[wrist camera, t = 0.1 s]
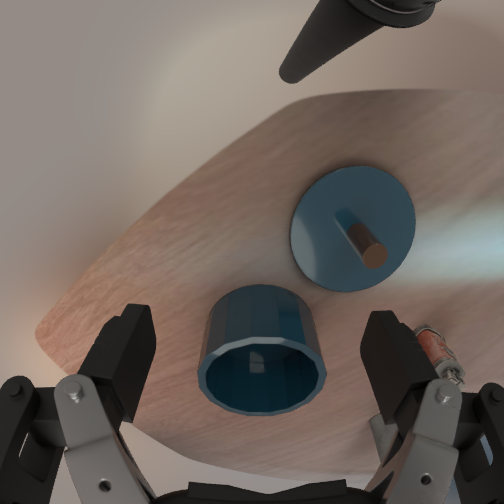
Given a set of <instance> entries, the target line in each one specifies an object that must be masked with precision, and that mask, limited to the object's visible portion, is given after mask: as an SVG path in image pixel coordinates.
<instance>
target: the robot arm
mask: <svg viewBox="0 0 504 504" xmlns="http://www.w3.org/2000/svg"><path fill="white" fill-rule="evenodd" d="M366 1H368V2H369V3H371V4H372V5H374V6H376V7H377V8H379V9H381V10H384V11H386V12H389V13H393V14H398V15H410V14H413V13H416V12H418V11H420V10H422V9H423V8H424V7H426V6H428V5H430V4H432V3H434V4H436V3H435V2H437V1H438V2H439V0H366ZM440 1H441V0H440ZM434 4H433V5H434ZM431 6H432V5H431ZM431 6H429V7H431ZM429 7H428V8H429ZM426 9H427V8H426ZM155 351H156V335H155V330H154V326H153V320H152V315H151V310H150V307H149V306H148V305H141V304H127V306H126V307H125V309H124V311H123V313H122V314H121V316H114V317H113V318H111V319H110V320H109V321H108V322H107V323H105V324H104V326H103V328H102V330H101V331H100V333H99V336H97V338H96V340H95V342H94V344H93V345H92V347H91V349H90V351H89V352H88V354H87V356H86V358H85V360H84V362H83V363H82V365H81V367H80V369H79V371H78V373H77V374H74V375H70V376H67V377H65V378H63V379H62V380H61V381H60V382H59V383H58V384H57V386H56V387H46V388H45V387H44V388H35V387H34V385H33V384H32V382H31V381H30V380H29V379H28V378H27V377H24V376H15V377H12V378H10V379H8V380H7V381H6V382H5V383H4V384H3V385H2V387H1V389H0V504H49V502H50V497H51V493H52V490H53V486H54V482H55V479H56V475H57V471H58V468H59V465H60V461H61V458H62V455H63V451H64V448H65V446H67V447H68V450H65V451H64V457H65V460H66V464H67V466H68V469H69V472H70V475H71V478H72V480H73V483H74V486H75V488H76V490H77V493H78V496H79V498H80V500H81V503H82V504H444V502H445V499H446V496H447V493H448V490H449V487H450V484H451V481H452V477H453V475H454V479H455V482H456V486H457V490H458V493H459V497H460V501H461V504H504V388H503V387H502V386H500V385H499V384H496V383H487V384H485V385H484V386H483V387H482V388H481V390H480V391H479V392H478V393H466V392H461V391H460V389H459V388H458V387H457V386H456V385H455V384H454V383H453V382H451V381H449V380H447V379H442V378H441V379H440V377H439V375H438V374H437V372H436V370H435V368H434V366H433V365H432V363H431V361H430V359H429V358H428V356H427V354H426V352H425V351H423V347H422V345H421V344H420V343H419V340H418V339H417V337H416V335H415V334H414V332H413V331H412V330H411V329H410V328H409V327H407V326H406V325H405V324H404V323H400V322H399V321H398V319H397V317H396V316H395V314H394V312H393V311H391V310H388V311H372V312H371V314H370V316H369V319H368V322H367V326H366V329H365V332H364V335H363V338H362V341H361V345H360V354H361V358H362V361H363V364H364V367H365V369H366V372H367V375H368V378H369V380H370V383H371V386H372V389H373V392H374V394H375V397H376V400H377V403H378V406H379V409H380V412H381V415H382V418H383V421H384V424H385V426H386V425H391V424H397V427H398V429H397V431H396V432H395V434H394V436H393V439H392V441H391V443H390V445H389V447H388V450H387V452H386V454H385V456H384V458H383V460H382V462H381V464H380V466H379V468H378V470H377V472H376V473H375V475H374V476H373V478H372V479H371V481H370V482H369V483H368V485H367V486H366V488H365V489H364V490H361V489H357V488H352V487H347V485H346V479H342V480H335V481H327V482H319V483H309V484H306V485H303V486H299V487H296V488H292V489H289V490H285V491H281V492H278V493H273V494H264V493H259V492H254V491H250V490H246V489H242V488H237V487H233V486H230V485H220V484H207V483H197V482H189V485H188V489H186V490H179V491H174V492H171V493H167V494H164V495H162V496H160V497H157V496H156V495H155V493H154V492H153V490H152V488H151V487H150V485H149V484H148V482H147V481H146V479H145V478H144V476H143V475H142V473H141V471H140V470H139V468H138V466H137V464H136V462H135V460H134V458H133V457H132V455H131V453H130V451H129V449H128V447H127V445H126V443H125V441H124V439H123V437H122V435H121V433H120V431H119V428H120V425H121V422H122V421H124V422H129V423H133V420H134V416H135V413H136V410H137V407H138V403H139V400H140V397H141V394H142V391H143V388H144V385H145V382H146V379H147V376H148V372H149V370H150V367H151V364H152V361H153V358H154V355H155ZM27 433H28V436H27V439H26V441H25V444H24V446H23V449H22V452H21V455H20V457H19V453H20V450H21V448H22V445H23V442H24V439H25V437H26V435H27ZM484 435H485V436H486V438H487V440H488V443H489V446H490V448H491V451H492V454H493V462H492V464H491V466H490V465H489V462H488V459H487V456H486V454H485V451H484V448H483V446H482V443H481V441H480V439H481V438H482V437H483V436H484Z"/></svg>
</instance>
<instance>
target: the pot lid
mask: <svg viewBox="0 0 504 504" xmlns="http://www.w3.org/2000/svg"><path fill="white" fill-rule="evenodd" d="M415 225H416V220H415V211H414V206H413V203H412V201H411V198H410V196H409V194H408V192H407V191H406V189H405V188H404V187H403V185H402V184H401V183H400V182H399V181H398V180H397V179H395V178H394V177H393V176H392V175H390V174H388V173H386V172H384V171H383V170H380V169H377V168H375V167H370V166H363V165H354V166H346V167H342V168H339V169H336V170H333V171H331V172H329V173H327V174H325V175H324V176H322V177H321V178H319V179H318V180H317V181H315V182H314V183H313V184H312V185H311V186H310V187H309V188H308V189H307V190H306V192H305V193H304V194H303V195H302V197H301V199H300V200H299V202H298V204H297V206H296V208H295V210H294V213H293V217H292V220H291V226H290V243H291V248H292V252H293V256H294V258H295V260H296V263H297V264H298V266H299V268H300V269H301V271H302V272H303V273H304V274H305V275H306V276H307V277H308V278H309V279H310V280H311V281H313V282H314V283H316V284H317V285H319V286H321V287H324V288H326V289H329V290H333V291H339V292H353V291H359V290H363V289H366V288H369V287H372V286H374V285H376V284H378V283H380V282H382V281H383V280H385V279H386V278H387V277H389V276H390V275H391V274H392V273H393V272H394V271H395V270H396V269H397V268H398V267H399V266H400V265H401V263H402V262H403V260H404V259H405V257H406V256H407V254H408V252H409V250H410V247H411V245H412V242H413V239H414V234H415Z"/></svg>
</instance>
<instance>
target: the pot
mask: <svg viewBox="0 0 504 504" xmlns="http://www.w3.org/2000/svg"><path fill="white" fill-rule="evenodd" d="M197 375H198V382H199V388H200V389H201V391H202V392H203V393H204V394H205V396H206V397H207V398H208V399H209V400H210V401H211V402H213V403H214V404H216V405H218V406H220V407H221V408H223V409H225V410H227V411H230V412H234V413H238V414H242V415H246V416H273V415H278V414H283V413H287V412H291V411H293V410H295V409H297V408H299V407H301V406H303V405H305V404H307V403H309V402H310V401H311V400H312V399H313V398H314V397H315V396H316V395H317V394H318V393H319V392H320V391H321V390H322V388H323V385H324V382H325V379H326V375H327V371H326V367H325V363H324V359H323V355H322V351H321V347H320V343H319V339H318V335H317V331H316V328H315V324H314V321H313V318H312V314H311V311H310V309H309V307H308V306H307V304H306V303H305V302H304V301H303V300H302V299H301V298H300V297H299V296H298V295H296V294H294V293H293V292H291V291H289V290H287V289H284V288H281V287H278V286H273V285H250V286H245V287H241V288H239V289H236V290H234V291H232V292H230V293H228V294H226V295H225V296H223V297H222V298H221V299H220V300H219V301H218V302H217V303H216V304H215V305H214V307H213V308H212V310H211V312H210V315H209V318H208V320H207V323H206V328H205V333H204V338H203V343H202V349H201V354H200V359H199V365H198V370H197Z"/></svg>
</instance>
